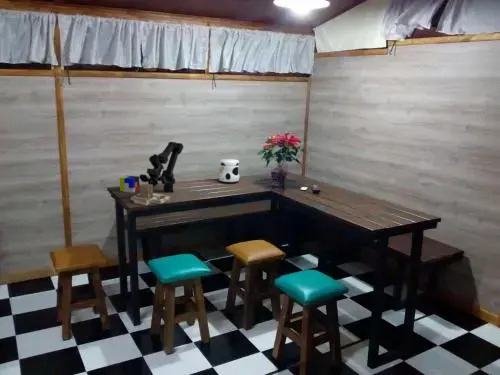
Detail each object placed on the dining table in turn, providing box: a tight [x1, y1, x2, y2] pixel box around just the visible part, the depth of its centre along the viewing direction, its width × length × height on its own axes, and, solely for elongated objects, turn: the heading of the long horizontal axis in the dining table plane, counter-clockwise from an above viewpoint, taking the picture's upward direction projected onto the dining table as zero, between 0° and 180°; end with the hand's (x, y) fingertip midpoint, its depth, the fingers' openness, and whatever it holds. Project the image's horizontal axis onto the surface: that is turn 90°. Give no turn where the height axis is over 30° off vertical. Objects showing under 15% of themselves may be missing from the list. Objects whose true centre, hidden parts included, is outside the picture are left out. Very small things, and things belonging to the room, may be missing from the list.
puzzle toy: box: [119, 175, 140, 194], centre depth 316 cm, size 10×10×10 cm
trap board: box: [130, 192, 171, 206], centre depth 293 cm, size 24×22×4 cm
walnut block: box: [139, 183, 154, 200], centre depth 289 cm, size 6×6×9 cm
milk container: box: [218, 158, 241, 184], centre depth 358 cm, size 17×17×18 cm
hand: (148, 189), depth 291 cm, fingers closed, pressing on walnut block
